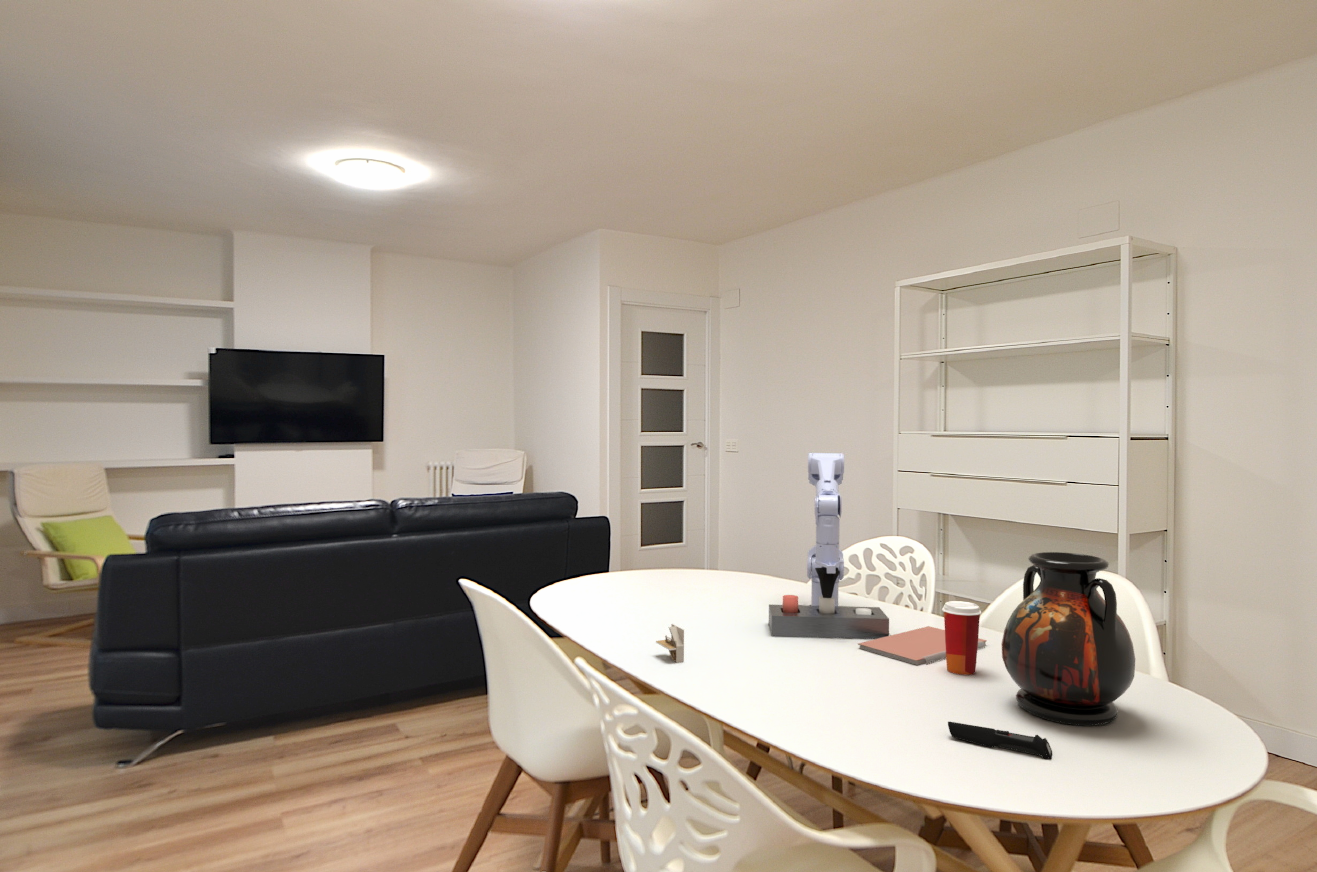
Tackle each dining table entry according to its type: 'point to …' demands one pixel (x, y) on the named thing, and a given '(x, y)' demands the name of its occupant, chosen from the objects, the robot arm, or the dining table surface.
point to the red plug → (790, 604)
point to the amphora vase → (1068, 642)
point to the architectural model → (674, 643)
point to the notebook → (913, 645)
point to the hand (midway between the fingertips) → (826, 597)
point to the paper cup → (961, 636)
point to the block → (828, 623)
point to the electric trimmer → (1001, 739)
